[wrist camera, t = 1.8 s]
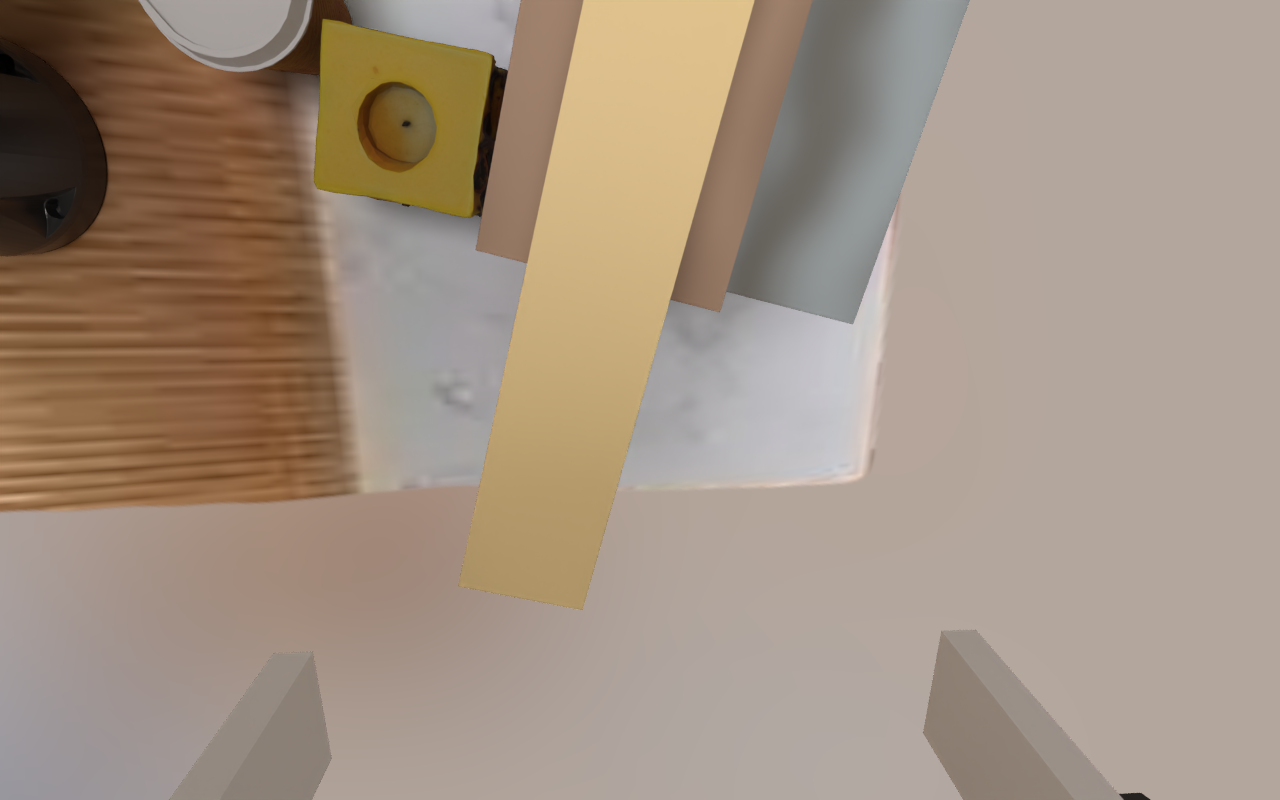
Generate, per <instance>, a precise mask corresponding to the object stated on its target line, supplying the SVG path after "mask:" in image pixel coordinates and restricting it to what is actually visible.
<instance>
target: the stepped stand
mask: <svg viewBox="0 0 1280 800" xmlns="http://www.w3.org/2000/svg"><path fill="white" fill-rule="evenodd" d="M583 1H584V0H521V3H520V9H519V14H518V20H517V25H516V31H515V36H514V42H513V47H512V53H511V58H510V64H509V69H508V75H507V80H506V86H505V91H504V97H503V102H502V108H501V113H500V119H499V124H498V130H497V135H496V141H495V146H494V152H493V157H492V163H491V168H490V174H489V179H488V185H487V190H486V196H485V201H484V207H483V212H482V218H481V223H480V229H479V234H478V240H477V245H476V250H477V251H481V252H485V253H489V254H493V255H497V256H501V257H505V258H509V259H513V260H517V261H521V262H524V263H527V262H528V257H529V253H530V248H531V243H532V239H533V234H534V229H535V225H536V220H537V215H538V211H539V206H540V201H541V197H542V192H543V187H544V183H545V178H546V173H547V169H548V164H549V159H550V155H551V150H552V145H553V141H554V136H555V131H556V127H557V122H558V117H559V113H560V108H561V103H562V99H563V94H564V89H565V85H566V80H567V75H568V71H569V66H570V61H571V57H572V52H573V47H574V43H575V38H576V33H577V29H578V24H579V19H580V15H581V10H582V5H583ZM968 3H969V0H755V1H754V4H753V8H752V11H751V15H750V19H749V22H748V26H747V29H746V33H745V36H744V40H743V43H742V47H741V50H740V54H739V58H738V61H737V65H736V68H735V72H734V75H733V79H732V82H731V86H730V89H729V93H728V96H727V100H726V104H725V107H724V111H723V114H722V118H721V121H720V125H719V128H718V132H717V135H716V139H715V143H714V146H713V150H712V153H711V157H710V160H709V164H708V167H707V171H706V174H705V178H704V181H703V185H702V189H701V192H700V196H699V199H698V203H697V206H696V210H695V213H694V217H693V220H692V224H691V228H690V231H689V235H688V238H687V242H686V245H685V249H684V252H683V256H682V259H681V263H680V266H679V270H678V274H677V277H676V281H675V284H674V288H673V291H672V295H671V298H670V300H674V301H678V302H682V303H686V304H690V305H693V306H697V307H701V308H705V309H709V310H713V311H717V312H720V310H721V306H722V303H723V300H724V296H725V293H726V292H730V293H734V294H738V295H742V296H745V297H749V298H753V299H757V300H761V301H765V302H769V303H772V304H776V305H780V306H784V307H788V308H792V309H796V310H799V311H803V312H807V313H811V314H815V315H819V316H823V317H826V318H830V319H834V320H838V321H842V322H846V323H850V324H853V323H854V320H855V317H856V315H857V312H858V309H859V306H860V304H861V301H862V298H863V295H864V292H865V290H866V287H867V284H868V281H869V278H870V276H871V273H872V270H873V267H874V265H875V262H876V259H877V256H878V253H879V251H880V248H881V245H882V242H883V240H884V237H885V234H886V231H887V228H888V226H889V223H890V220H891V217H892V215H893V212H894V209H895V206H896V203H897V201H898V198H899V195H900V192H901V190H902V187H903V184H904V181H905V178H906V176H907V173H908V170H909V167H910V164H911V162H912V159H913V156H914V153H915V151H916V148H917V145H918V142H919V139H920V137H921V134H922V131H923V128H924V126H925V123H926V120H927V117H928V114H929V112H930V109H931V106H932V103H933V100H934V98H935V95H936V92H937V90H938V87H939V84H940V81H941V78H942V76H943V73H944V70H945V67H946V65H947V62H948V59H949V56H950V53H951V51H952V48H953V45H954V42H955V40H956V37H957V34H958V31H959V28H960V26H961V23H962V20H963V17H964V15H965V12H966V9H967V6H968Z"/></svg>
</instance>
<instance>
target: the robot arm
mask: <svg viewBox="0 0 1280 800" xmlns="http://www.w3.org/2000/svg"><path fill="white" fill-rule="evenodd" d="M105 187H106V162H105V155H104V150H103V146H102V143H101V139H100V136H99V133H98V131H97V128H96V126H95V124H94V122H93V120H92V118H91V116H90V114H89V112H88V110H87V109H86V107H85V105H84V104H83V102H82V101H81V99H80V98H79V97H78V95H77V94H76V93H75V91H74V90H73V89H72V88H71V87H70V86H69V84H68V83H67V82H66V81H65V80H64V79H63V78H62V77H61V76H60V75H59V74H58V73H57V72H56V71H55V70H54V69H52V68H51V67H50V66H49V65H48V64H46V63H45V62H44V61H42V60H41V59H40V58H38V57H37V56H35V55H34V54H32V53H30V52H29V51H27V50H25V49H23V48H22V47H20V46H18V45H16V44H14V43H11V42H9V41H6V40H4V39H1V38H0V256H17V255H27V254H36V253H43V252H48V251H51V250H54V249H57V248H60V247H62V246H64V245H66V244H68V243H70V242H71V241H73V240H75V239H76V238H77V237H78V236H80V235H81V234H82V233H83V232H84V231H85V230H86V229H87V228H88V227H89V226H90V224H91V223H92V221H93V220H94V218H95V217H96V215H97V213H98V211H99V209H100V206H101V203H102V201H103V197H104V193H105ZM923 733H924V735H925V737H926V739H927V740H928V742H929V743H930V745H931V747H932V748H933V750H934V752H935V753H936V755H937V757H938V758H939V760H940V762H941V763H942V765H943V767H944V768H945V770H946V772H947V773H948V775H949V777H950V778H951V780H952V782H953V783H954V785H955V787H956V788H957V790H958V792H959V793H960V795H961V797H962V798H963V800H1150V799H1149V798H1147V797H1146V796H1144V795H1143V794H1142V793H1128V794H1118V793H1117V792H1116V790H1114V788H1113V787H1112V786H1111V785H1110V784H1109V782H1108V781H1107V780H1106V779H1105V778H1104V777H1103V776H1102V774H1101V773H1100V772H1099V771H1098V770H1097V769H1096V767H1095V766H1094V765H1093V764H1092V763H1091V762H1090V760H1089V759H1088V758H1087V757H1086V756H1085V755H1084V754H1083V752H1082V751H1081V750H1080V749H1079V748H1078V747H1077V746H1076V744H1075V743H1074V742H1073V741H1072V740H1071V739H1070V737H1069V736H1068V735H1067V734H1066V733H1065V732H1064V731H1063V729H1062V728H1061V727H1060V726H1059V725H1058V724H1057V723H1056V721H1055V720H1054V719H1053V718H1052V717H1051V716H1050V715H1049V713H1048V712H1047V711H1046V710H1045V709H1044V708H1043V706H1041V704H1040V703H1039V702H1038V701H1037V700H1036V698H1035V697H1034V696H1033V695H1032V694H1031V693H1030V691H1029V690H1028V689H1027V688H1026V687H1025V686H1024V685H1023V683H1022V682H1021V681H1020V680H1019V679H1018V678H1017V677H1016V675H1015V674H1014V673H1013V672H1012V671H1011V670H1010V669H1009V667H1008V666H1007V665H1006V664H1005V663H1004V662H1003V660H1002V659H1001V658H1000V657H999V656H998V655H997V654H996V653H995V651H994V650H993V649H992V648H991V647H990V645H989V644H988V643H987V642H986V641H985V640H984V639H983V637H982V636H981V635H980V634H979V633H978V632H977V631H976V630H957V631H941V637H940V642H939V648H938V653H937V659H936V664H935V670H934V675H933V681H932V686H931V692H930V697H929V703H928V709H927V714H926V720H925V725H924V731H923ZM330 761H331V752H330V747H329V741H328V735H327V729H326V723H325V718H324V712H323V706H322V701H321V695H320V690H319V685H318V678H317V673H316V667H315V661H314V656H313V652H292V653H274V654H273V655H272V656H271V658H270V659H269V660H268V662H267V664H266V665H265V666H264V667H263V669H262V670H261V672H260V673H259V674H258V676H257V677H256V679H255V680H254V681H253V683H252V684H251V686H250V687H249V689H248V690H247V691H246V693H245V694H244V695H243V697H242V698H241V700H240V701H239V702H238V704H237V705H236V707H235V708H234V709H233V711H232V712H231V714H230V715H229V717H228V718H227V719H226V721H225V722H224V723H223V725H222V726H221V728H220V729H219V730H218V732H217V733H216V735H215V736H214V737H213V739H212V740H211V742H210V743H209V744H208V746H207V747H206V749H205V750H204V752H203V753H202V754H201V756H200V757H199V759H198V760H197V761H196V763H195V764H194V766H193V767H192V768H191V770H190V771H189V772H188V774H187V775H186V777H185V778H184V779H183V781H182V782H181V784H180V785H179V786H178V788H177V789H176V791H175V792H174V793H173V795H172V796H171V798H170V799H169V800H312V799H313V796H314V794H315V792H316V790H317V788H318V786H319V784H320V782H321V780H322V778H323V775H324V773H325V771H326V769H327V767H328V765H329V763H330Z"/></svg>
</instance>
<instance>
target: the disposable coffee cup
mask: <svg viewBox="0 0 1280 800" xmlns="http://www.w3.org/2000/svg"><path fill="white" fill-rule="evenodd" d="M139 1H140V3H141V5H142V7H143V8H144V10H145V11H146V13H147V14H148V15H149V16H150V18H151V19H152V20H153V22H154V23H155V25H156V26H157V28H158V29H159V30H160V31H161V32H162V33H163V34H164V35H165V36H166V38H167V39H168V40H169V41H170V42H171V43H173V44H174V45H175V46H176V47H177V48H178V49H180V50H181V51H182V52H184V53H185V54H187V55H188V56H190V57H191V58H193V59H195V60H197V61H199V62H201V63H203V64H205V65H208V66H210V67H213V68H217V69H221V70H225V71H232V72H250V71H256V70H260V69H269V70H279V71H287V72H296V73H304V74H312V75H318V74H320V51H321V32H322V21H323V19H328V20H334V21H341V22H344V23H347V24H351V25H352V21H351V17H350V14H349V12H348V9H347V7H346V5H345V3H344V1H343V0H139Z"/></svg>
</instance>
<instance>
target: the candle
mask: <svg viewBox="0 0 1280 800" xmlns="http://www.w3.org/2000/svg"><path fill="white" fill-rule="evenodd" d="M495 63H496V61H495V60H494V56H493V55H491V54H489V53H486V52H482V51H478V50H474V49H467V48H460V47H456V46H451V45H446V44H441V43H435V42H428V41H423V40H418V39H414V38H409V37H404V36H400V35H395V34H390V33H386V32H381V31H377V30H372V29H367V28H362V27H357V26H354V25H351V24H347V23H344V22H341V21H334V20H328V19H323V21H322V32H321V51H320V99H319V116H318V127H317V136H316V154H315V169H314V183H315V185H316V187H317V189H320V190H325V191H329V192H334V193H342V194H349V195H359V196H367V197H371V198H374V199H377V200H385V201H391V202H396V203H402V205H403V206H408V207H409V206H410V205H413V206H418V207H423V208H427V209H430V210H434V211H438V212H442V213H446V214H450V215H455V216H459V217H468V218H472V217H473V216H474V215H479V217H480V216H482V212H483V207H484V201H485V196H486V190H487V185H488V179H489V174H490V168H491V163H492V157H493V152H494V146H495V141H496V135H497V130H498V124H499V119H500V113H501V108H502V102H503V97H504V91H505V86H506V80H507V75H508V71H507V70H505V69H502V68H499V67H496V66H495Z"/></svg>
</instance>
